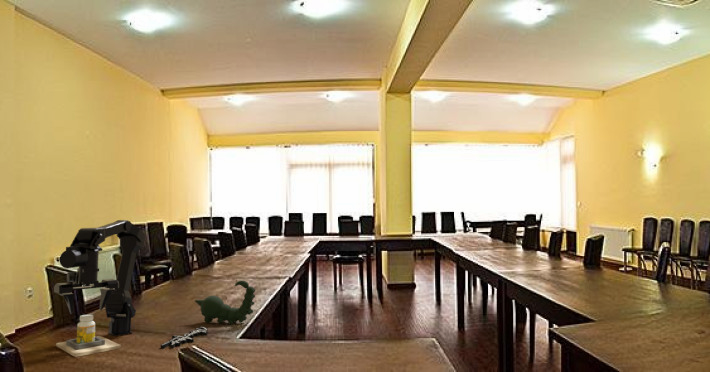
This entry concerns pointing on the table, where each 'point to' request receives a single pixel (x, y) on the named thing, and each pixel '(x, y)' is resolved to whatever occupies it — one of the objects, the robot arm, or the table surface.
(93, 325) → the supplement bottle
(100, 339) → the collar board
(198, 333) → the toy rifle
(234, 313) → the toy figurine
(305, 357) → the table surface
